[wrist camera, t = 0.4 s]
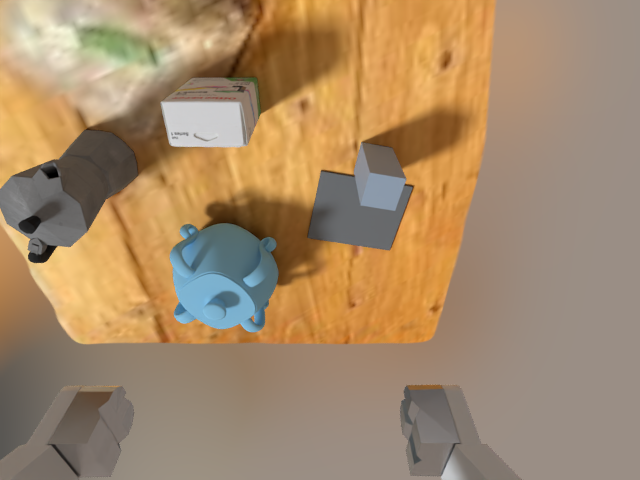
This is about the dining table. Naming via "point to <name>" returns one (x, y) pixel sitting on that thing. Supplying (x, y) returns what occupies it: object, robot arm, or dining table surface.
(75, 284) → the dining table surface
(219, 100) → the ink box
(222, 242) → the decorative pot
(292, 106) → the dining table surface
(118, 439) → the robot arm
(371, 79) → the dining table surface
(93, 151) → the coffeepot
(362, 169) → the block
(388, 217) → the mat
